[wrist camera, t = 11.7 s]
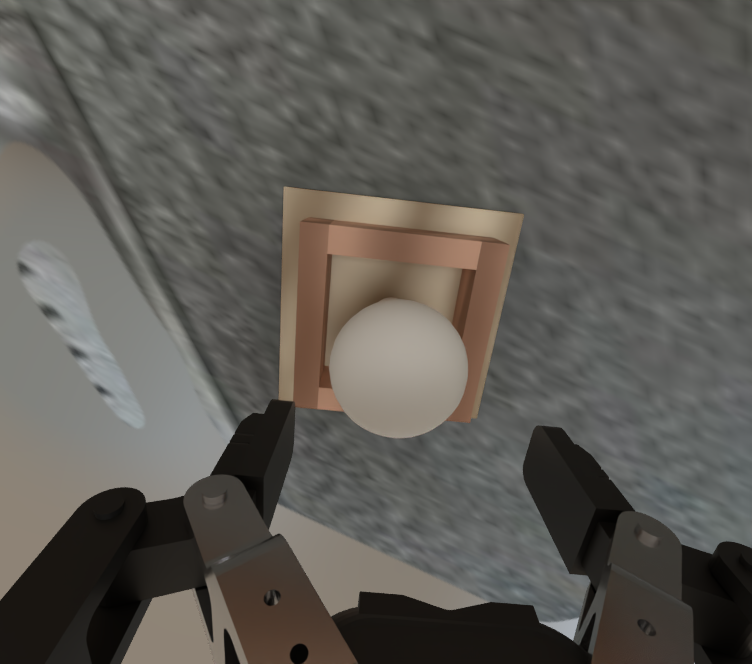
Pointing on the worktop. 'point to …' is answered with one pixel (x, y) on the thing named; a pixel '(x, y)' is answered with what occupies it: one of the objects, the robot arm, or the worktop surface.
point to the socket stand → (387, 279)
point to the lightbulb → (398, 368)
